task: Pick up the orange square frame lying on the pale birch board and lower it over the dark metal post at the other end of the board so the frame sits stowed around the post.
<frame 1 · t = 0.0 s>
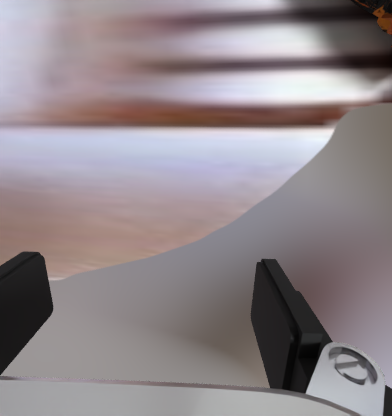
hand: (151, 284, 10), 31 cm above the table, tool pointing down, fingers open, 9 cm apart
tool: (365, 4, 33), on the table
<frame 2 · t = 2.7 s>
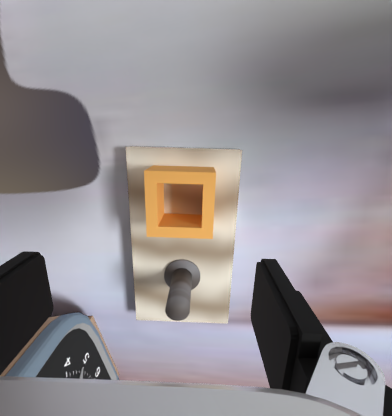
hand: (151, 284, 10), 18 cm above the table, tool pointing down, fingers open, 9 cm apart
alarm clock: (83, 349, 35), on the table
peg board: (183, 238, 29), on the table
orange square frame: (183, 195, 25), point 2 cm above the table, touching peg board
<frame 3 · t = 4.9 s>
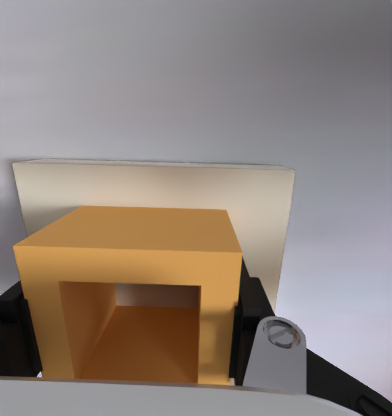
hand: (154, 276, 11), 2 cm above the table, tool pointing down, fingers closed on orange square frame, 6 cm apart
peg board: (164, 335, 15), on the table
orange square frame: (156, 270, 11), point 2 cm above the table, touching gripper, peg board
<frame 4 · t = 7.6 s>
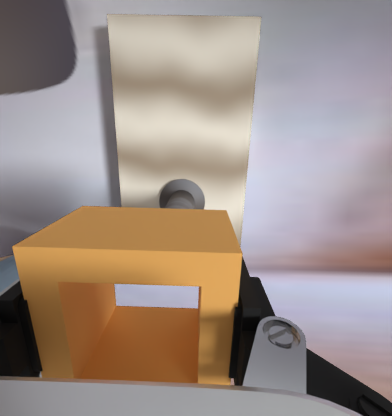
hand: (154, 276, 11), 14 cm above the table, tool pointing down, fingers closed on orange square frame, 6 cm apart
alarm clock: (65, 306, 29), on the table
peg board: (184, 157, 23), on the table
orange square frame: (156, 271, 11), point 14 cm above the table, touching gripper
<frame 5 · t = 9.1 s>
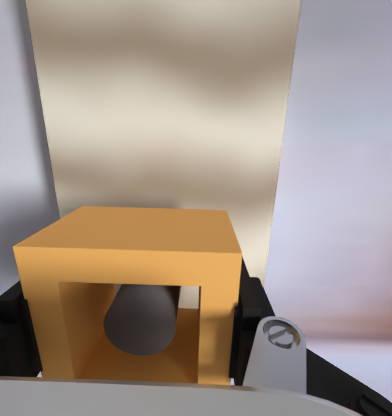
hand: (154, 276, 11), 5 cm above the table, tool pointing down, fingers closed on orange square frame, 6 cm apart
peg board: (169, 173, 14), on the table
orange square frame: (156, 271, 11), point 4 cm above the table, touching gripper
when the fingers open (4 cm above the table, at t = 10.2 s): orange square frame drops 1 cm, resting on peg board.
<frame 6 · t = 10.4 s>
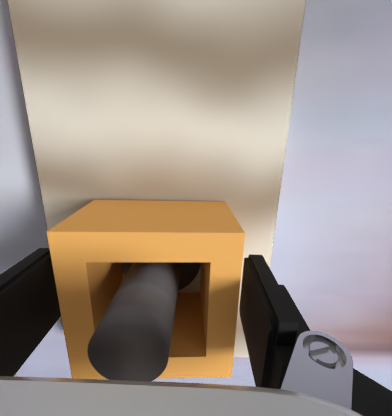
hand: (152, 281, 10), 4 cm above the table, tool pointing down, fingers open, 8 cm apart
peg board: (165, 177, 13), on the table
orange square frame: (161, 258, 12), point 2 cm above the table, touching peg board
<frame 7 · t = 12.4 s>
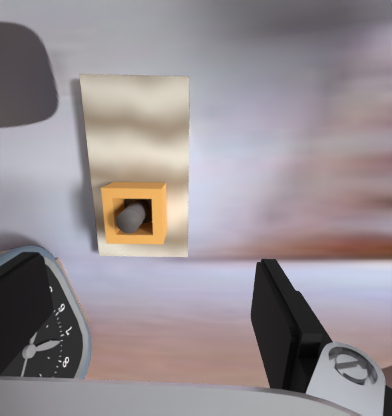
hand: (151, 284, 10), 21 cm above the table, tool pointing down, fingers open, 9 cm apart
alarm clock: (51, 295, 35), on the table
peg board: (142, 173, 30), on the table
orange square frame: (141, 207, 29), point 2 cm above the table, touching peg board
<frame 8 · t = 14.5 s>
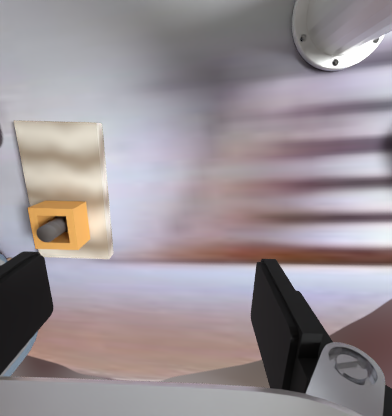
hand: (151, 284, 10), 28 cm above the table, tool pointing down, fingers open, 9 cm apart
alarm clock: (8, 287, 44), on the table
peg board: (72, 192, 38), on the table
orange square frame: (68, 220, 37), point 2 cm above the table, touching peg board
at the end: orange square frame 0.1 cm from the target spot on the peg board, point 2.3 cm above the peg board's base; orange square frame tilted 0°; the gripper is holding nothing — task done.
